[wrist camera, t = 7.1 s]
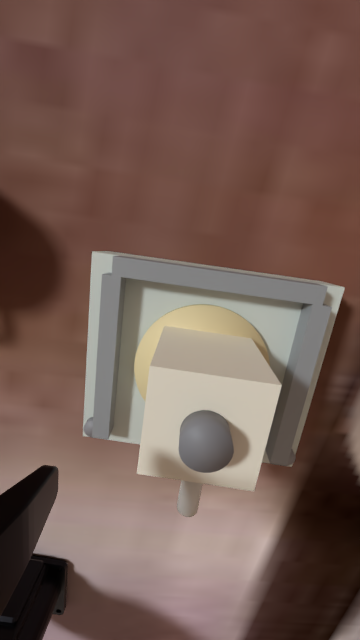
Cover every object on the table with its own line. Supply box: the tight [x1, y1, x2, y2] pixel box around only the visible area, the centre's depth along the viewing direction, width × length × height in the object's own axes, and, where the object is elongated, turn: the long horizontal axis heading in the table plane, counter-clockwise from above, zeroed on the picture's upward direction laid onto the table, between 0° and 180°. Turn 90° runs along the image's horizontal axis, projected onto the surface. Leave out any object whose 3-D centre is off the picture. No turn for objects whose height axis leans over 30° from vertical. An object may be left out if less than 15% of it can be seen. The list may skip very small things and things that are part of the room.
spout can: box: [137, 326, 282, 517], centre depth 13 cm, size 8×5×6 cm, turn 172°
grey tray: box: [83, 251, 345, 467], centre depth 17 cm, size 12×14×4 cm
